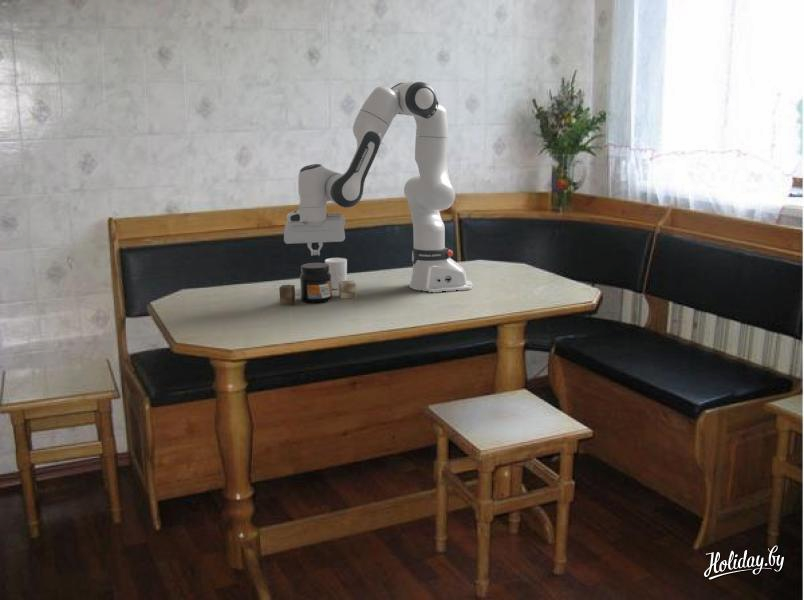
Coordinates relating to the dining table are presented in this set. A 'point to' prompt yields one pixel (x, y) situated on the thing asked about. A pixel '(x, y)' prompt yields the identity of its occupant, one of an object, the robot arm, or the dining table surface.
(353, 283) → the beech block
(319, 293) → the supplement container
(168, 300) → the dining table surface
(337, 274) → the white cup
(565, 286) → the dining table surface
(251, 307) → the dining table surface
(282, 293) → the walnut block
